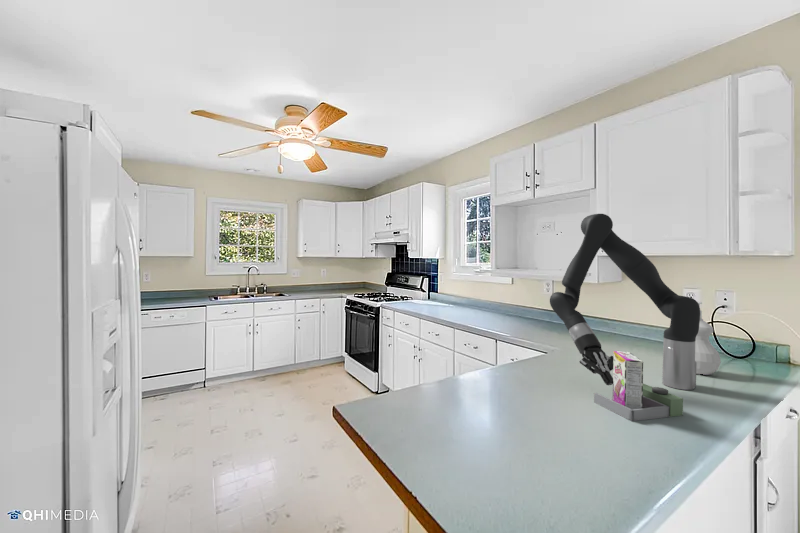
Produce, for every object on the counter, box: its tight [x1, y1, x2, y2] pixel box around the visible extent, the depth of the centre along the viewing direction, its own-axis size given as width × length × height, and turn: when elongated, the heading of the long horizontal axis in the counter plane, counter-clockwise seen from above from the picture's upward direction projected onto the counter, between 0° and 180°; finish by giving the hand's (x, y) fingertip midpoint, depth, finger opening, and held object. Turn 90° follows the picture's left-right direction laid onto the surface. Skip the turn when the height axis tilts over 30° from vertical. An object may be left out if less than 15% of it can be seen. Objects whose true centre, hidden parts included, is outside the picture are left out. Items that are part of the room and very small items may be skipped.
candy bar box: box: [612, 350, 644, 409], centre depth 109 cm, size 11×5×16 cm, turn 165°
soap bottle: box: [695, 301, 722, 376], centre depth 147 cm, size 17×12×29 cm
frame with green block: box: [593, 383, 684, 422], centre depth 109 cm, size 19×14×6 cm
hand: (610, 384), depth 115 cm, fingers closed
